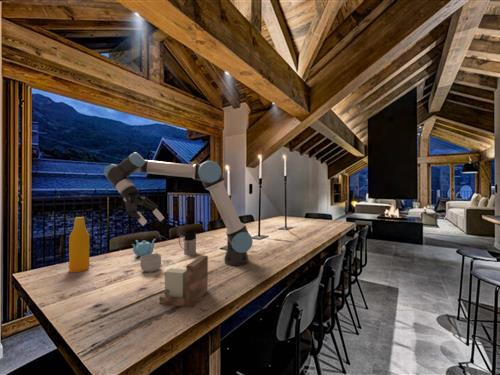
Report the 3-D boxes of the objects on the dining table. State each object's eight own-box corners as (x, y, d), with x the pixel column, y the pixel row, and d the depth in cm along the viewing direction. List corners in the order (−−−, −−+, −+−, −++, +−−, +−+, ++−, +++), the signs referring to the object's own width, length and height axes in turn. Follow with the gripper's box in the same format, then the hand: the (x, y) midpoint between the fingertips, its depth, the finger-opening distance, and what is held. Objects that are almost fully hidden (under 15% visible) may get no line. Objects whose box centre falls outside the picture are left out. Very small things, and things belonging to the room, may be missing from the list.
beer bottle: (91, 269, 131) (91, 217, 130) (70, 273, 124) (70, 219, 124) (87, 265, 137) (87, 215, 137) (67, 269, 130) (67, 217, 130)
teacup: (153, 274, 124) (153, 259, 124) (135, 273, 126) (135, 258, 126) (167, 265, 138) (167, 252, 138) (151, 264, 140) (151, 251, 140)
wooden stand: (159, 303, 95) (159, 263, 94) (178, 287, 109) (178, 253, 109) (192, 307, 91) (192, 266, 91) (207, 291, 106) (207, 255, 105)
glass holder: (199, 253, 164) (199, 231, 164) (183, 258, 152) (183, 235, 152) (190, 251, 169) (190, 230, 169) (174, 255, 157) (174, 233, 157)
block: (163, 301, 96) (163, 272, 96) (169, 296, 101) (169, 268, 100) (181, 304, 94) (181, 274, 94) (187, 298, 99) (187, 269, 99)
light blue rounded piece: (152, 258, 151) (152, 242, 151) (129, 259, 148) (129, 243, 148) (155, 252, 164) (155, 238, 164) (135, 253, 161) (135, 238, 161)
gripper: (140, 194, 130) (164, 222, 127) (102, 196, 106) (131, 231, 103) (148, 185, 129) (173, 213, 126) (112, 184, 105) (141, 220, 102)
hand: (154, 221), depth 114 cm, fingers open, 13 cm apart
